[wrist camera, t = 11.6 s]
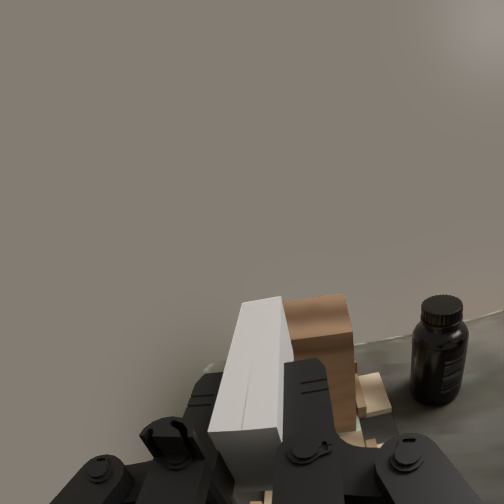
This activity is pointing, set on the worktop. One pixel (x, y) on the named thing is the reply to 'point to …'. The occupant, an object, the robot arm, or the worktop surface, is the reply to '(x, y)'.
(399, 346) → the worktop surface
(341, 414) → the walnut block
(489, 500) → the worktop surface
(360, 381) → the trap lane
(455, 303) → the supplement bottle
